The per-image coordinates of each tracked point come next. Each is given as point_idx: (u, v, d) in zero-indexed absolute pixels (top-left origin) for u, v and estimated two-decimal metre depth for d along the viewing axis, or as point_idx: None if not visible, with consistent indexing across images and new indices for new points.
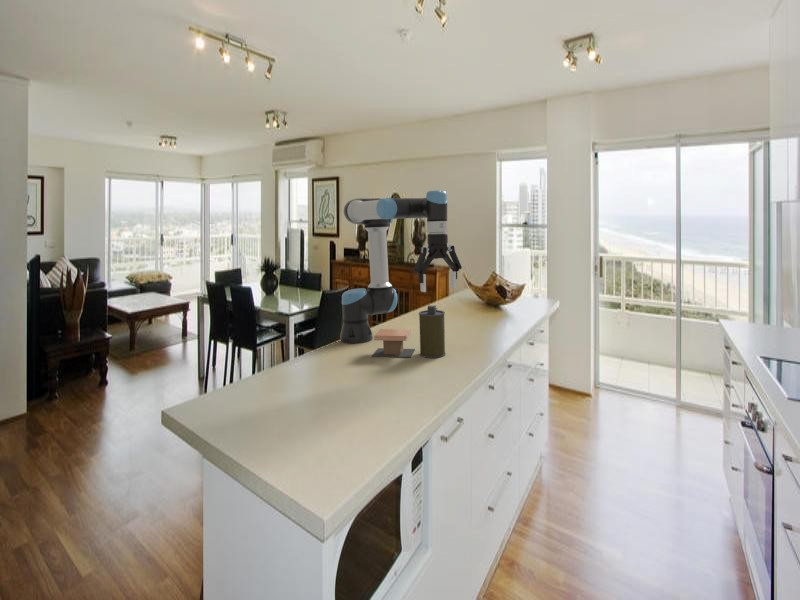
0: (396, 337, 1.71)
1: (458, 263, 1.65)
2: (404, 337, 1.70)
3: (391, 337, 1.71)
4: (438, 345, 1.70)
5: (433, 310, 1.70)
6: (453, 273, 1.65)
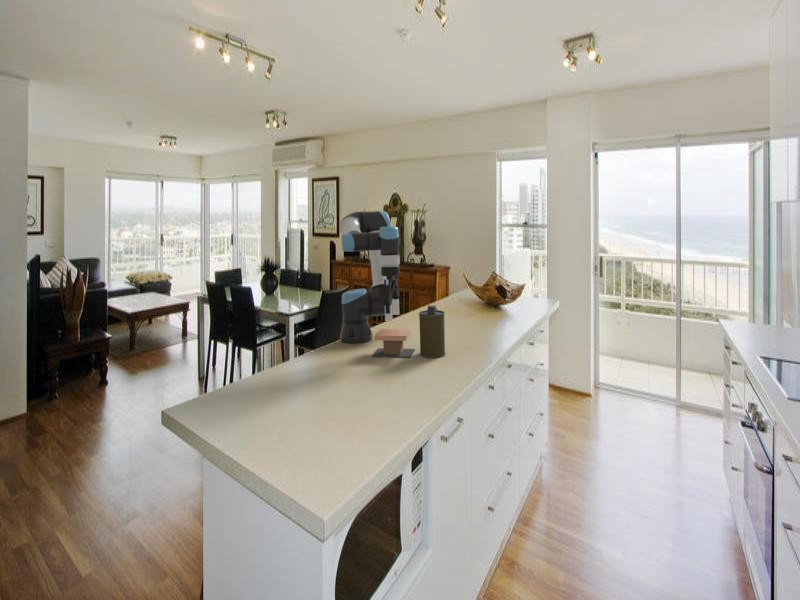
0: (396, 337, 1.71)
1: None
2: (404, 337, 1.70)
3: (391, 337, 1.71)
4: (438, 345, 1.70)
5: (433, 310, 1.70)
6: None
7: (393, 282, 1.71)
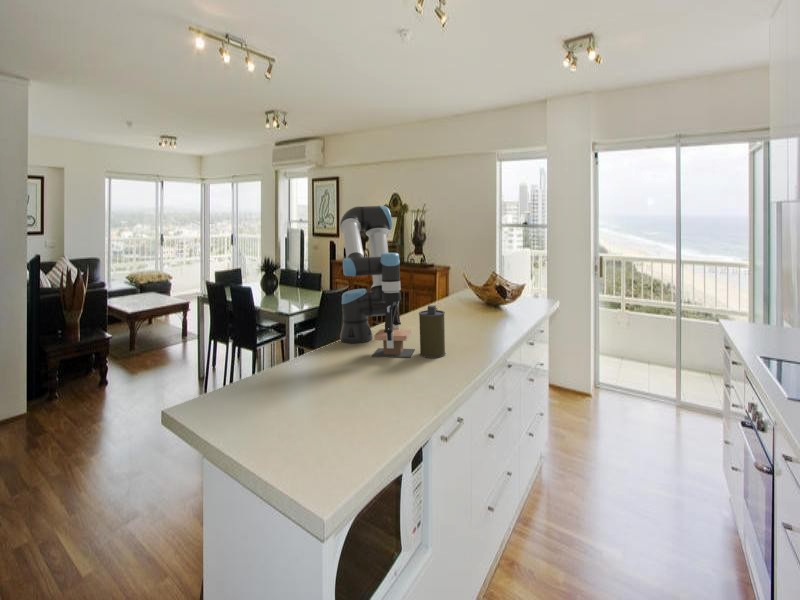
0: (396, 337, 1.71)
1: None
2: (404, 337, 1.70)
3: None
4: (438, 345, 1.70)
5: (433, 310, 1.70)
6: None
7: (394, 308, 1.73)
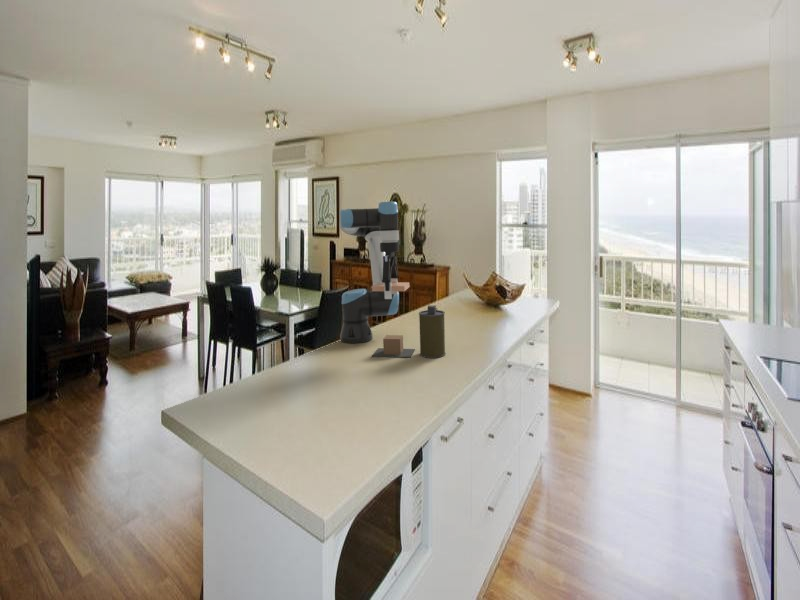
0: (394, 287, 1.68)
1: None
2: (402, 287, 1.67)
3: None
4: (438, 345, 1.70)
5: (433, 310, 1.70)
6: None
7: (392, 258, 1.69)
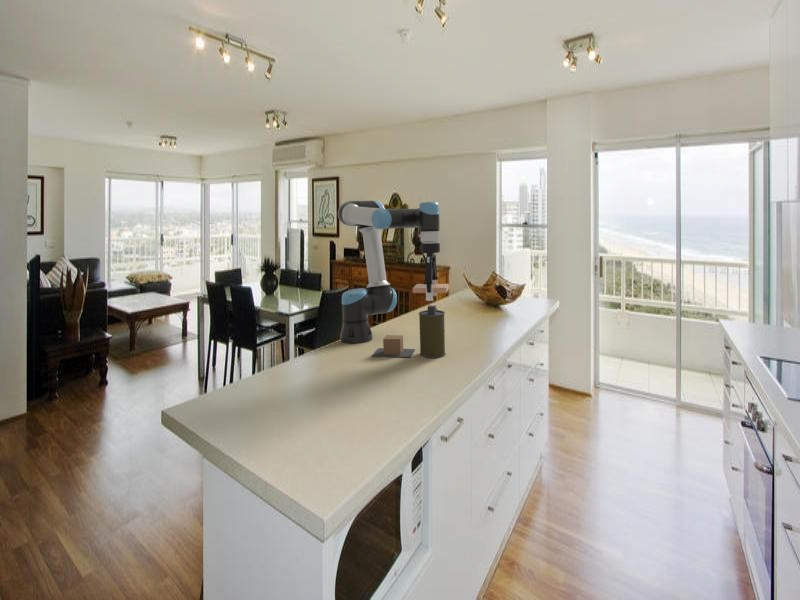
0: (436, 289, 1.65)
1: None
2: (444, 289, 1.64)
3: None
4: (438, 345, 1.70)
5: (433, 310, 1.70)
6: None
7: (433, 259, 1.66)
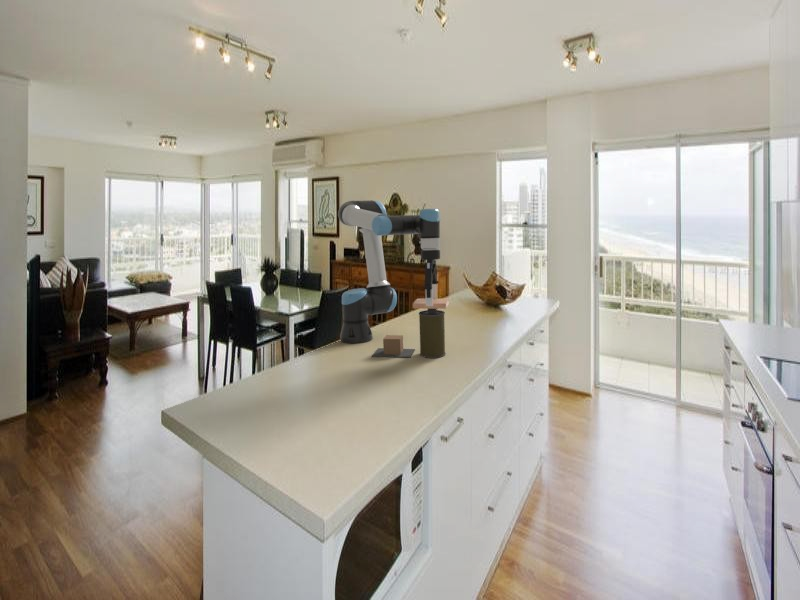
0: (435, 305, 1.66)
1: None
2: (444, 305, 1.65)
3: None
4: (438, 345, 1.70)
5: (433, 310, 1.70)
6: None
7: (433, 266, 1.67)
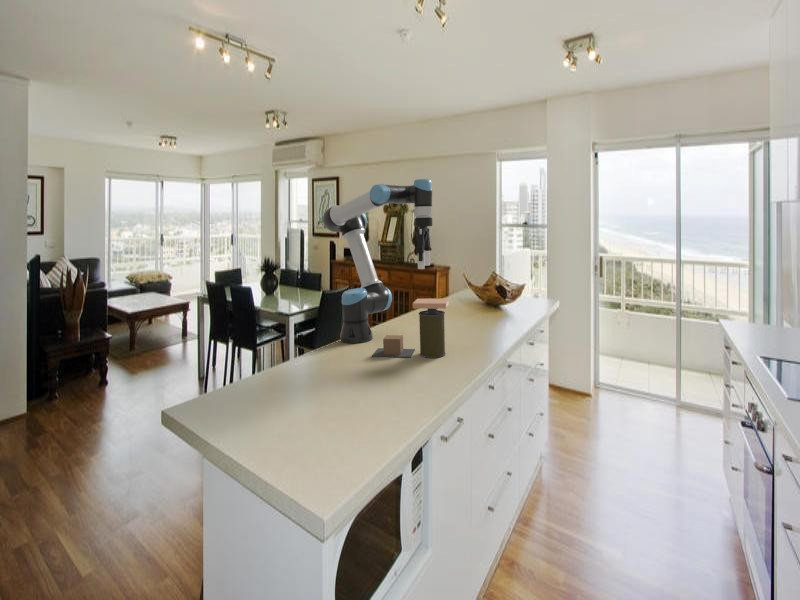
0: (435, 305, 1.66)
1: None
2: (444, 305, 1.65)
3: (430, 305, 1.66)
4: (438, 345, 1.70)
5: (433, 310, 1.70)
6: None
7: (426, 232, 1.81)
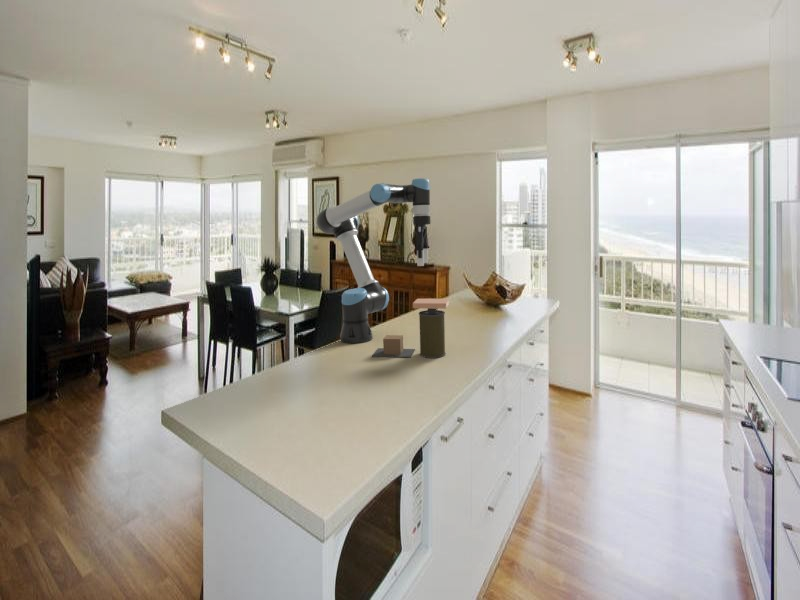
0: (436, 305, 1.66)
1: None
2: (444, 305, 1.65)
3: (430, 305, 1.66)
4: (438, 345, 1.70)
5: (433, 310, 1.70)
6: None
7: (424, 230, 1.86)
